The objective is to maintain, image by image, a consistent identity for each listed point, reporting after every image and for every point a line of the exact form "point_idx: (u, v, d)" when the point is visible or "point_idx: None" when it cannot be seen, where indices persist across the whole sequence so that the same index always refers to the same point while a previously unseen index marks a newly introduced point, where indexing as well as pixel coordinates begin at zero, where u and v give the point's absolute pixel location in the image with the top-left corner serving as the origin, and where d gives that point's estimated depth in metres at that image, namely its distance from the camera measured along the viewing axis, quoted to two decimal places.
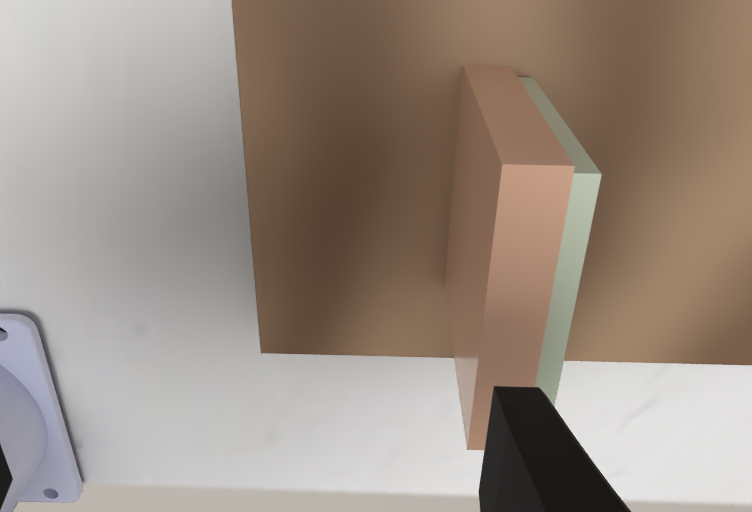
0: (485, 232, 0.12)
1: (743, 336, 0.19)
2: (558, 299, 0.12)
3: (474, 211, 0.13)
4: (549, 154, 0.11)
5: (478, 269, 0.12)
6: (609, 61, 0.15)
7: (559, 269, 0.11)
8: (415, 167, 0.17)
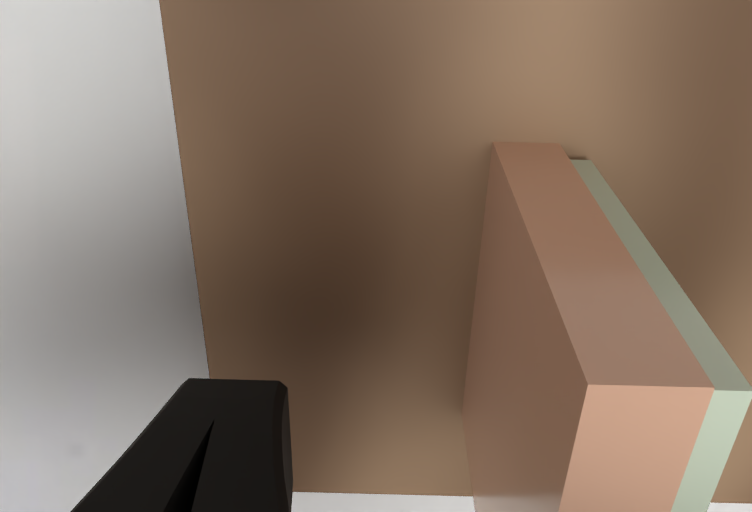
0: (544, 450, 0.07)
1: None
2: None
3: (518, 383, 0.09)
4: (662, 351, 0.06)
5: (528, 488, 0.08)
6: (697, 137, 0.11)
7: None
8: (425, 272, 0.12)
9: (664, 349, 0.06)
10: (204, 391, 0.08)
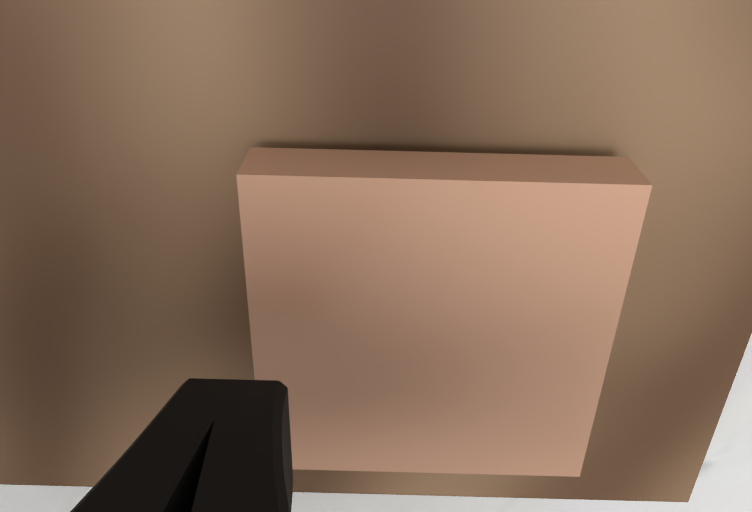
0: (582, 275, 0.10)
1: (602, 467, 0.15)
2: None
3: (488, 289, 0.11)
4: (602, 162, 0.10)
5: (555, 323, 0.11)
6: (367, 130, 0.11)
7: None
8: (132, 265, 0.12)
9: (601, 161, 0.10)
10: (205, 391, 0.08)
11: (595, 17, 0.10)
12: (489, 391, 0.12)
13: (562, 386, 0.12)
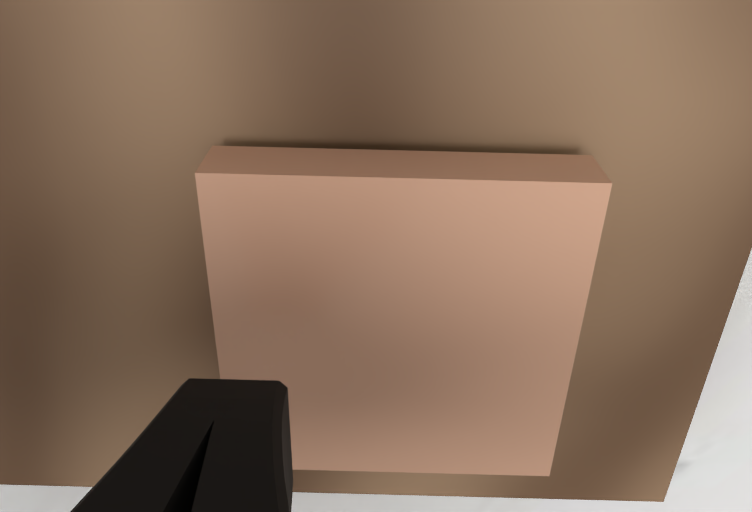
0: (545, 274, 0.10)
1: (577, 467, 0.15)
2: None
3: (451, 288, 0.10)
4: (564, 160, 0.10)
5: (520, 322, 0.11)
6: (331, 128, 0.11)
7: None
8: (100, 264, 0.12)
9: (564, 159, 0.10)
10: (205, 391, 0.08)
11: (556, 14, 0.10)
12: (456, 390, 0.12)
13: (529, 385, 0.11)
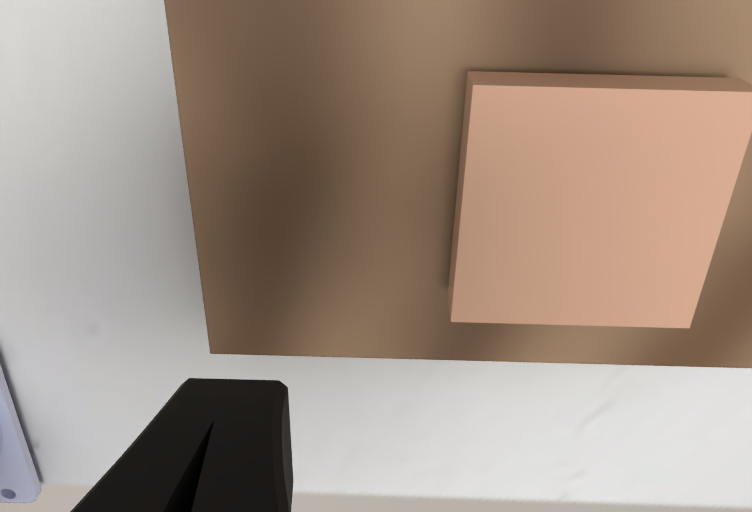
0: (708, 162, 0.15)
1: (695, 337, 0.19)
2: None
3: (639, 173, 0.15)
4: (722, 80, 0.14)
5: (684, 199, 0.15)
6: (547, 60, 0.15)
7: None
8: (357, 167, 0.16)
9: (722, 79, 0.14)
10: (204, 391, 0.08)
11: None
12: (629, 256, 0.16)
13: (684, 251, 0.16)
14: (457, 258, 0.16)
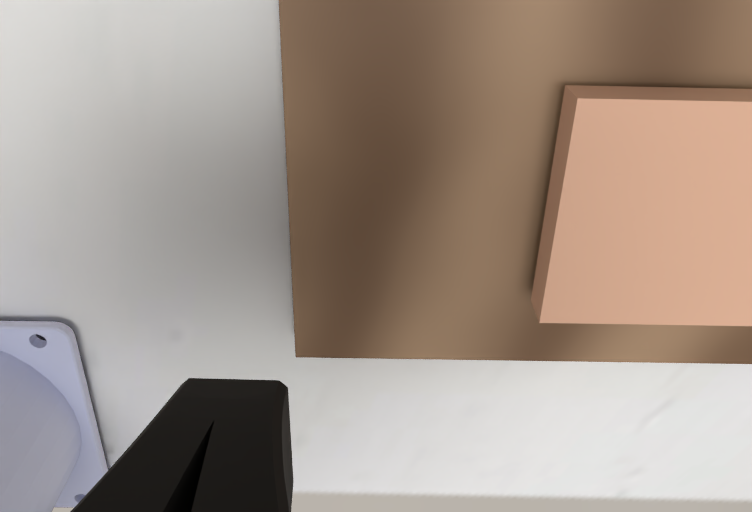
0: None
1: None
2: None
3: (727, 179, 0.16)
4: None
5: None
6: (637, 74, 0.16)
7: None
8: (450, 176, 0.17)
9: None
10: (205, 391, 0.08)
11: None
12: (713, 258, 0.17)
13: None
14: (550, 262, 0.17)
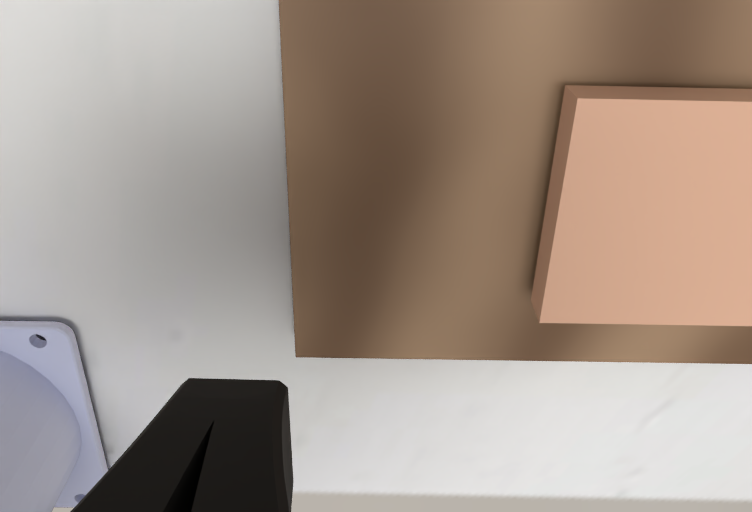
0: None
1: None
2: None
3: (727, 179, 0.16)
4: None
5: None
6: (637, 74, 0.16)
7: None
8: (450, 176, 0.17)
9: None
10: (205, 391, 0.08)
11: None
12: (713, 258, 0.17)
13: None
14: (550, 262, 0.17)
